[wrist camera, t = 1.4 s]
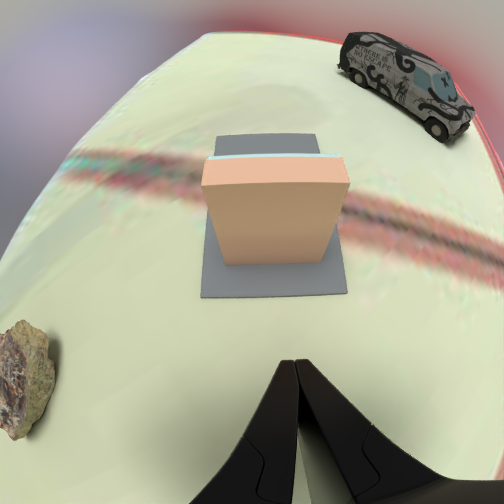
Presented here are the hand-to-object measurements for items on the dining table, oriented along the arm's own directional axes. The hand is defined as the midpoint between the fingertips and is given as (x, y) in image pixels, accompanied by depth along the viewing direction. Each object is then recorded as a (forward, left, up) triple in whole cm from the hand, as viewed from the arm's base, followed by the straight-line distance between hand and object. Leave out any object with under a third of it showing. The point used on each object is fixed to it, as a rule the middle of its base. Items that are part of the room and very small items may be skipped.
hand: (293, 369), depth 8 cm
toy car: (+11, -45, -13) cm, 49 cm away
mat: (+12, -11, -12) cm, 21 cm away
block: (+7, -7, -12) cm, 16 cm away
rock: (+13, +20, -13) cm, 27 cm away
